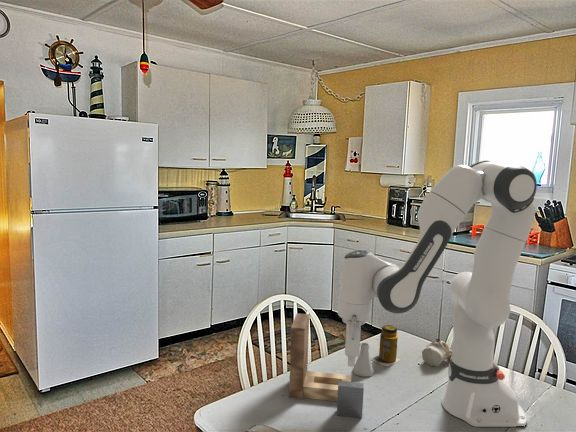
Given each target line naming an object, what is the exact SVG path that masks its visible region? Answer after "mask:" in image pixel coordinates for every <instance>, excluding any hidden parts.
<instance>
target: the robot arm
mask: <svg viewBox="0 0 576 432" xmlns="http://www.w3.org/2000/svg"><path fill="white" fill-rule="evenodd" d="M537 185H538V181H537V178H536V176H535V174H534V172H532V171H531V170H530V169H529V168H526V167H525V166H523V165H519V164H513V163H510V162H506V161H491V160H480V161H477V162H474V163H473V164H471V165H465V164H464V165H463V164H458V165H455V166H452V167H451V168H450V169H449V170H448V171H447V172H446V173H444V175H443V176H442V177H440V179H439V180H438V181H437V182H436V183H435V185H434V186H433V187H432V188H431V189H430V191H429V192H428V193H427V194H426V196H425V197H424V198H423V200H422V202H421V204H420V207H419V209H418V211H417V222H418V225H419V237H418V240H417V243H416V244H415V245H414V246H415V247H414V248H413V249H412V251H411V252H410V254H409V255H408V257H407V258H406V260H405V262H404V263H403V264H402V266H401V267H399V266H398V265H397V264H395V263H391V262H389V261H386V260H383V259H381V258H380V257H378V256H376V255H375V254H374V253H373V252H371V251H369V250H363V249H361V250H360V249H358V250H353V251H350V252H348V253H347V254H345V256H344V257H343V259H342V262H341V263H342V264H341V268H340V277H339V284H340V285H339V286H340V293H339V296H338V306H337V307H338V309H337V315H338V316H339V317H340V318H341V319H342V321H341V322H343V323H344V324H346V329H345V343H344V354H345V356H346V357H347V366H348V367H352V368H354V365H355V363H356V358H358V356H359V354H360V349H361V346H360V343H361V333H362V329H361V328H362V327H361V326H364V324H366V321H368V320H370V319H371V318H372V315H371V314H372V303H373V301H372V300H373V298H377V300H378V302H379V303H380V305H381V307H382V308H383V309H384V310H386V311H387V312H389V313H392V314H403V313H407V312H409V311H410V310H412V309H413V308H414V307H415V306H416V305H417V303H418V301H419V299H420V296H421V292H422V288H423V285H424V283H425V281H426V279H427V278H428V276H429V275H430V273H431V271H432V270H433V269H434V266H435V265H436V263H437V261H438V260H439V259H440V257H441V256H442V254H443V253H444V251H445V249H446V247H447V245H448V243H449V241H450V240H451V238H452V236H453V234H454V232H455V231H456V229H457V228H458V227H459V225H460V223H462V221H463V219H464V218H465V217H466V216H467V214H468V212H470V210H471V209H472V206H473V205H475V204H476V203H477V202H478V201H480V200H482V201H486V202H488V203H491V212H490V215H489V216H488V219H487V221H486V224H485V226H484V228H483V230H482V232H481V235H480V237H479V240H478V242H477V244H476V246H475V249H474V251H473V266H472V271H462V272H459V273H457V274H456V275H455V276H453V278H452V279H451V280H450V284H449V290H450V296H451V298H450V299H451V318H452V330H453V331H452V332H453V333H452V335H453V336H452V345H451V346H452V348H451V351H452V356H451V358H450V360H449V363H448V369H447V370H448V373H447V375H448V381H447V386H446V389H445V393H444V395H443V398H442V400H441V404H442V408H444V410H445V411H446V412H448V413H449V414H450V415H453V416H454V417H456V418H458V419H460V420H463V421H464V422H465V423H468V424H469V425H470V426H473V427H477V428H479V427H480V428H481V427H482V428H483V427H485V428H486V427H487V428H488V427H489V428H490V427H491V428H492V427H494V428H495V427H497V428H498V427H503V428H504V427H505V428H506V427H508V428H509V427H510V428H513V427H516V426H524V427H526V426H525V425H527V424H528V423H527V422H528V420H527V419H528V417H527V414H526V412H525V411H524V409H523V408H522V407H521V405H520V404H519V401H518V397H517V396H516V395H517V394H516V393H515V392H514V390H513V389H512V388H511V387H510V385H508V384H507V383H506V382H504V381H503V380H505V379H506V376H505V373H504V372H503V371H502V370H500V368H499V367H498V366H497V365H496V364H495V363H494V355H495V344H496V340H495V339H496V338H495V335H494V330H493V328H498V327H499V326H502V325H503V324H504V323H506V321H508V319H509V317H510V315H511V304H510V296H511V295H510V293H511V289H512V284H513V279H514V278H513V277H514V273H515V269H516V266H517V264H518V262H519V260H520V257H521V254H522V253H523V249H525V248H524V247H525V245H526V243H527V241H528V238H529V236H530V233H531V231H532V227H533V223H534V219H535V215H536V207H535V204H534V200H535V196H536V193H537V189H538V186H537ZM526 423H527V424H526Z"/></svg>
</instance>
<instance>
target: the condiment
mask: <svg viewBox="0 0 576 432" xmlns="http://www.w3.org/2000/svg"><path fill="white" fill-rule="evenodd" d="M398 338H399V337H398V329H397V327H396V326H394V325H391V324H385V325H383V326H382V327H381V333H380V337H379V352H378V355H377V356H374V357H371V358H370V360H371V361H373V362H376V363H377V364H380V365H382V366H385V367H391V365H394V364H396V363H398V362H400V361H401V358H398V357H397V350H398Z"/></svg>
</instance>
